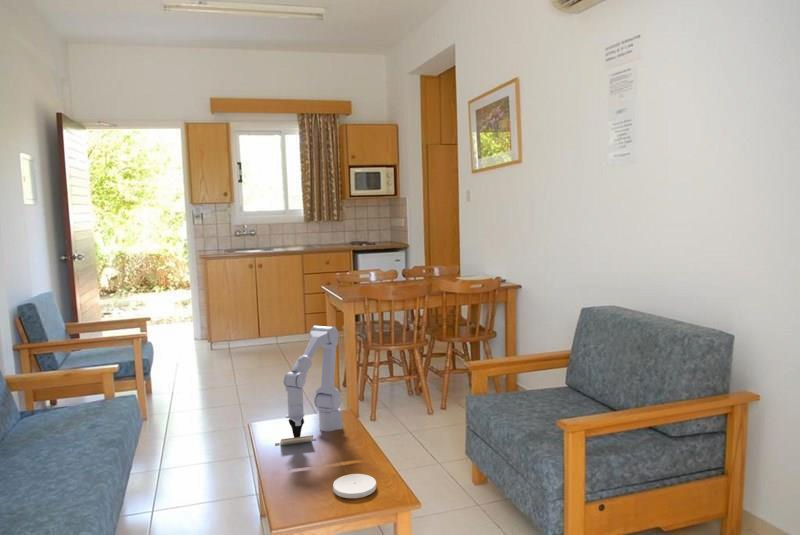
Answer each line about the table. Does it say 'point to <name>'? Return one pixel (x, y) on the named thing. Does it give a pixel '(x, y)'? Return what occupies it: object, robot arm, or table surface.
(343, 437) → the table surface
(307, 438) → the flap
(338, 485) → the plastic lid
